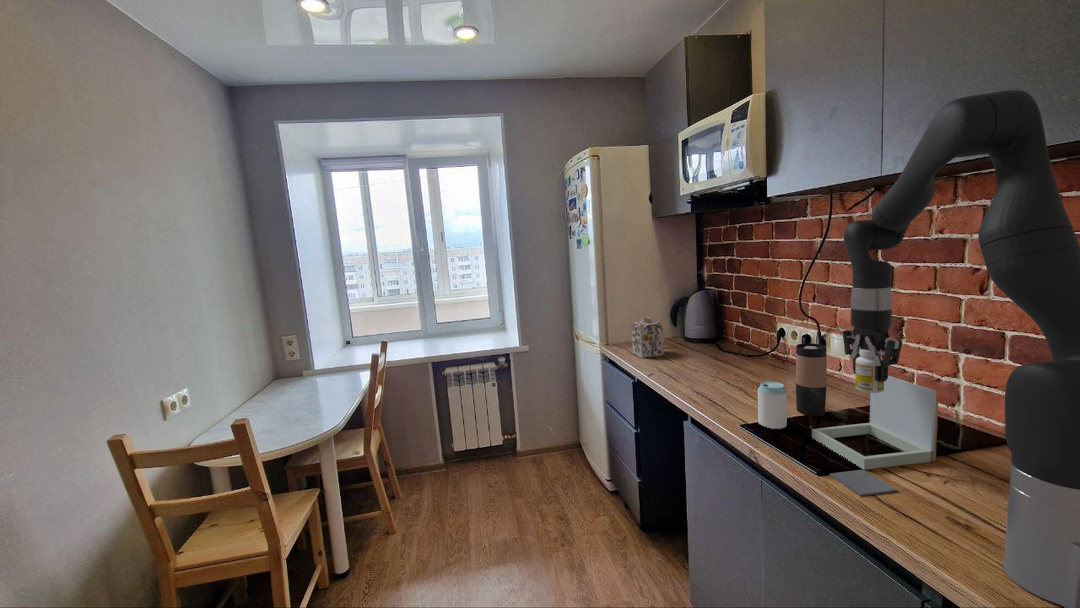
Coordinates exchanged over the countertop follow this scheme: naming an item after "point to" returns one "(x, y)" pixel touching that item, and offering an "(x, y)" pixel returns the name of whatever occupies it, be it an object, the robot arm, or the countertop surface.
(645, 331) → the decorative jar
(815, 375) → the travel mug
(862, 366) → the supplement bottle
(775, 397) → the can
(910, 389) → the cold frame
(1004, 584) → the countertop surface
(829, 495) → the countertop surface
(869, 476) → the slate coaster
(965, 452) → the countertop surface
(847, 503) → the countertop surface
